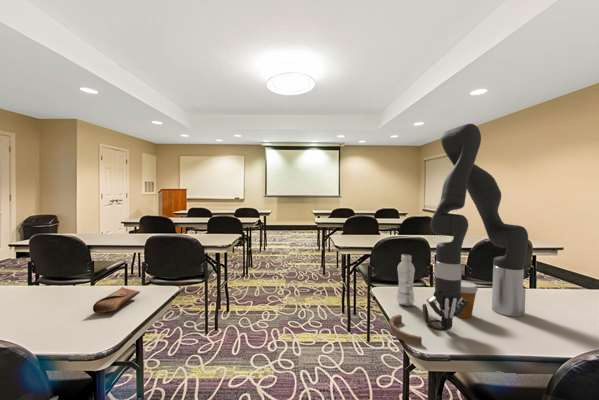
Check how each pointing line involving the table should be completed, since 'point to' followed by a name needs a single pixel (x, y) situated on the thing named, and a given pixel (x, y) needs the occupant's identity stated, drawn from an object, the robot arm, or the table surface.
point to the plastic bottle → (405, 281)
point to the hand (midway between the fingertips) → (446, 328)
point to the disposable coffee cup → (467, 298)
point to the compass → (432, 323)
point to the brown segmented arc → (402, 335)
